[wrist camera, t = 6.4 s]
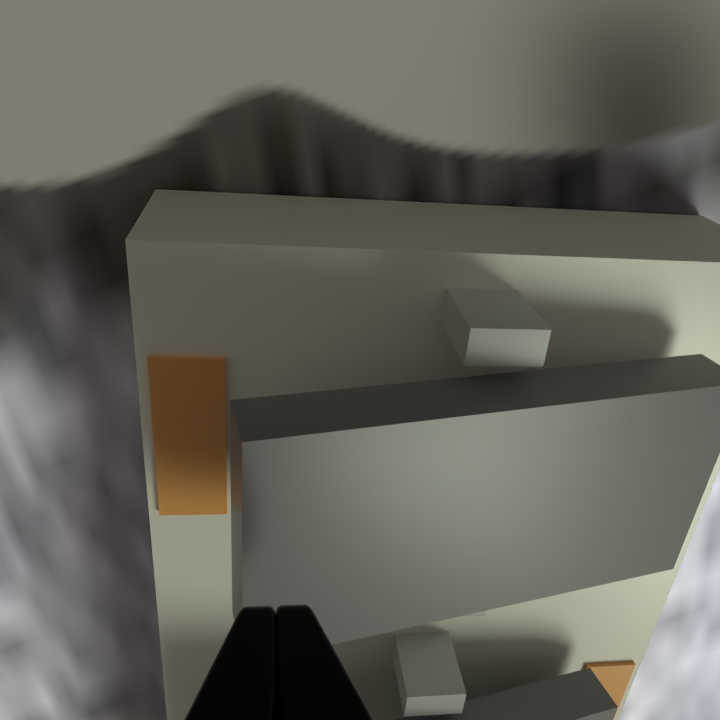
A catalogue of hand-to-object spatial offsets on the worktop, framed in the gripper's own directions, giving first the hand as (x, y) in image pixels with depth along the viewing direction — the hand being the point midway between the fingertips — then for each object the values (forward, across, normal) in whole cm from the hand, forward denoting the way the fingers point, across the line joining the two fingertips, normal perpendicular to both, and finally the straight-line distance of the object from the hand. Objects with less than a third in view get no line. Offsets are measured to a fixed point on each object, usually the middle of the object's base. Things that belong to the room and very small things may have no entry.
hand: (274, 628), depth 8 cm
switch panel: (+7, -3, +8) cm, 11 cm away
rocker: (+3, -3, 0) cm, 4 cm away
